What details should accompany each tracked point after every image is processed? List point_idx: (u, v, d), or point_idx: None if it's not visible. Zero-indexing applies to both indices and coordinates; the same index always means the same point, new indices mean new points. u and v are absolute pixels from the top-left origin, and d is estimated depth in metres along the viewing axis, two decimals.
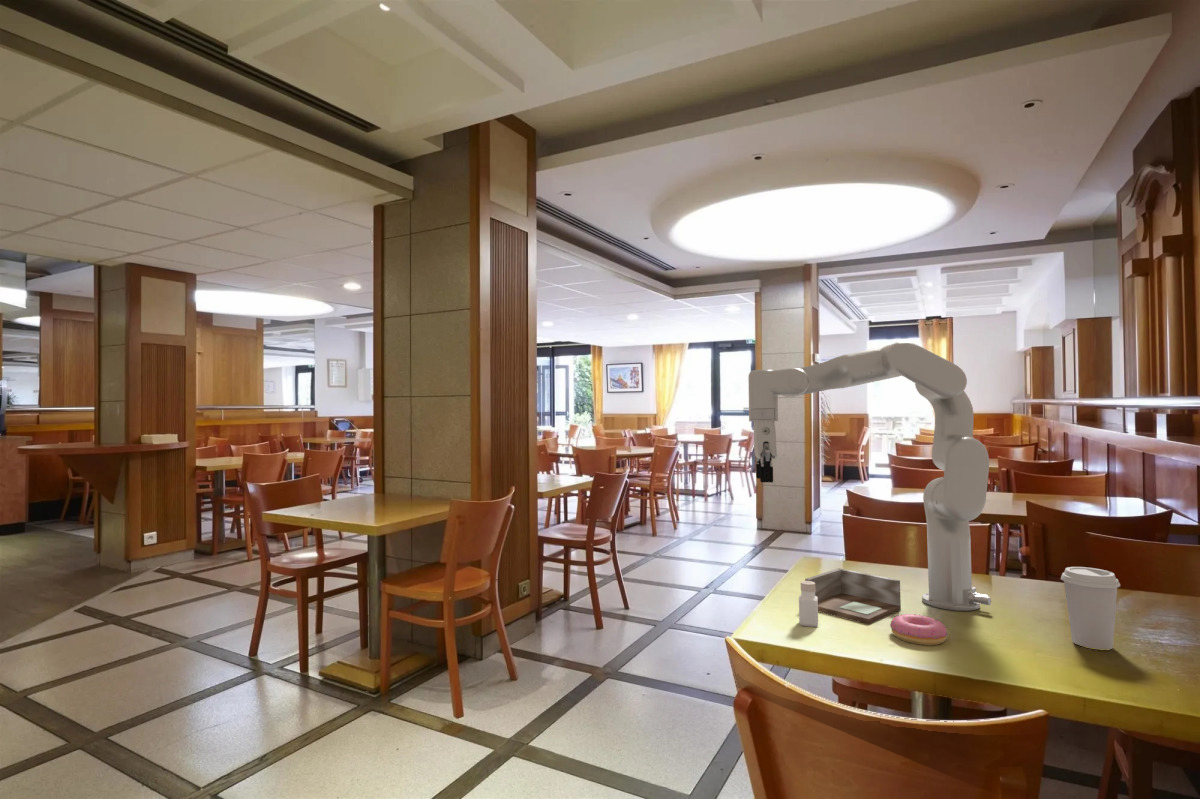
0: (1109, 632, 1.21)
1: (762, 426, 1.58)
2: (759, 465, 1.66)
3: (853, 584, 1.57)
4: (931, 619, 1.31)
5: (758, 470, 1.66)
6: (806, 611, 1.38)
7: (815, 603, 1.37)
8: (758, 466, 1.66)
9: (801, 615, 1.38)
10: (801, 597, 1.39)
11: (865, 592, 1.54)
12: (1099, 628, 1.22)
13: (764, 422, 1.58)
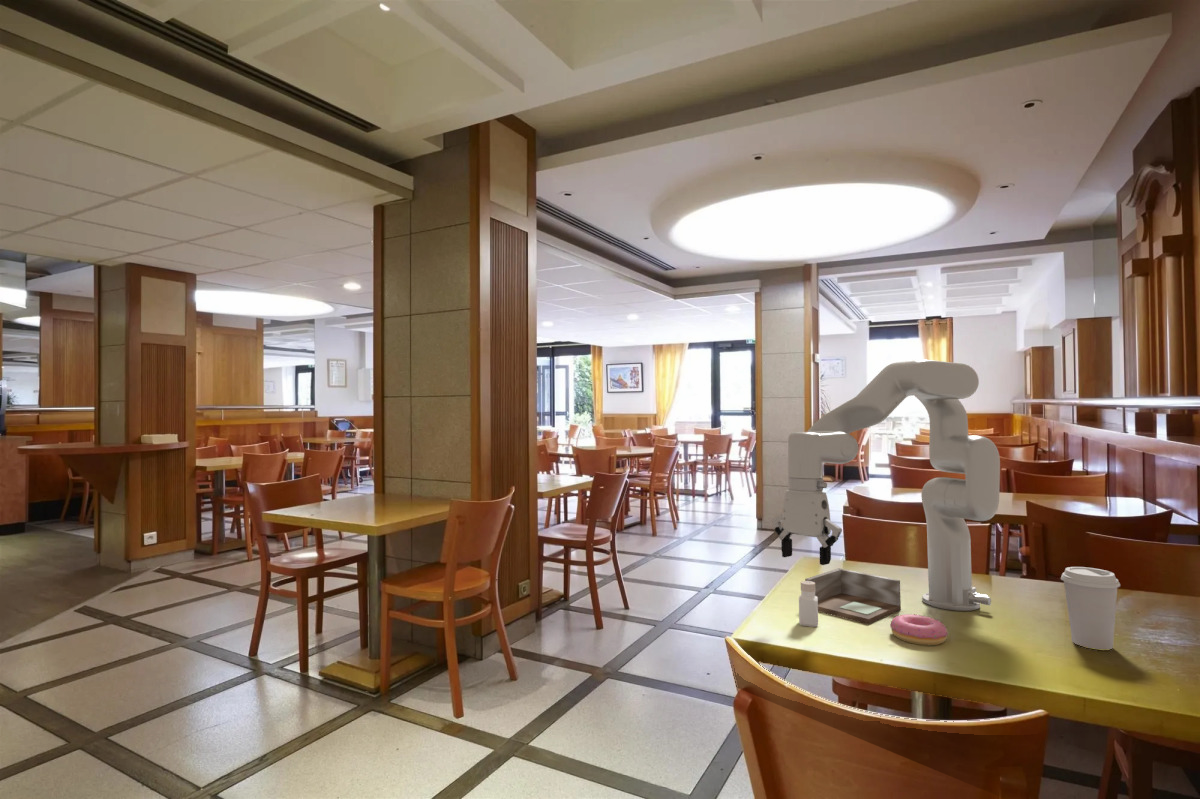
0: (1109, 632, 1.21)
1: (821, 499, 1.36)
2: (786, 541, 1.43)
3: (853, 584, 1.57)
4: (931, 619, 1.31)
5: (785, 547, 1.42)
6: (806, 611, 1.38)
7: (815, 603, 1.37)
8: (786, 543, 1.42)
9: (801, 615, 1.38)
10: (801, 597, 1.39)
11: (865, 592, 1.54)
12: (1099, 628, 1.22)
13: (822, 494, 1.37)
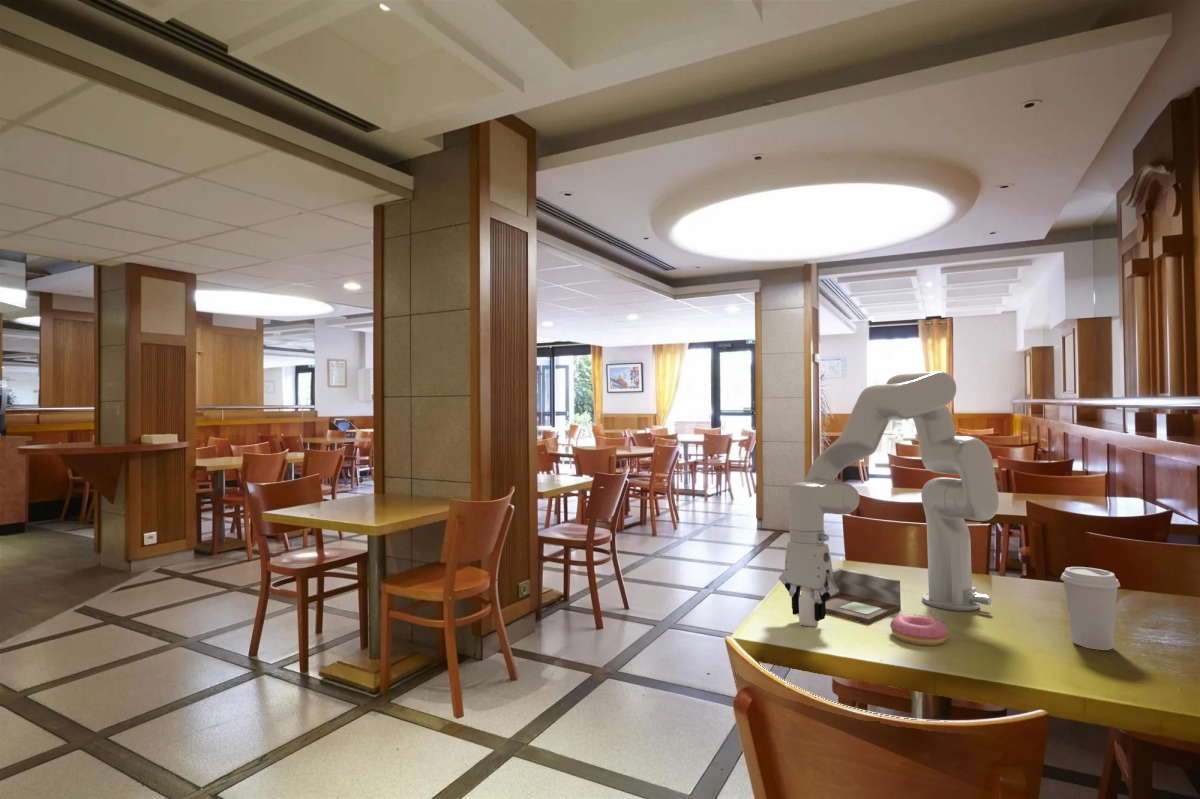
0: (1109, 632, 1.21)
1: (823, 552, 1.36)
2: (796, 599, 1.41)
3: (853, 584, 1.57)
4: (931, 619, 1.30)
5: (796, 605, 1.41)
6: (806, 611, 1.38)
7: None
8: (796, 600, 1.41)
9: (801, 615, 1.38)
10: (801, 597, 1.39)
11: (865, 592, 1.54)
12: (1099, 628, 1.22)
13: (823, 547, 1.36)
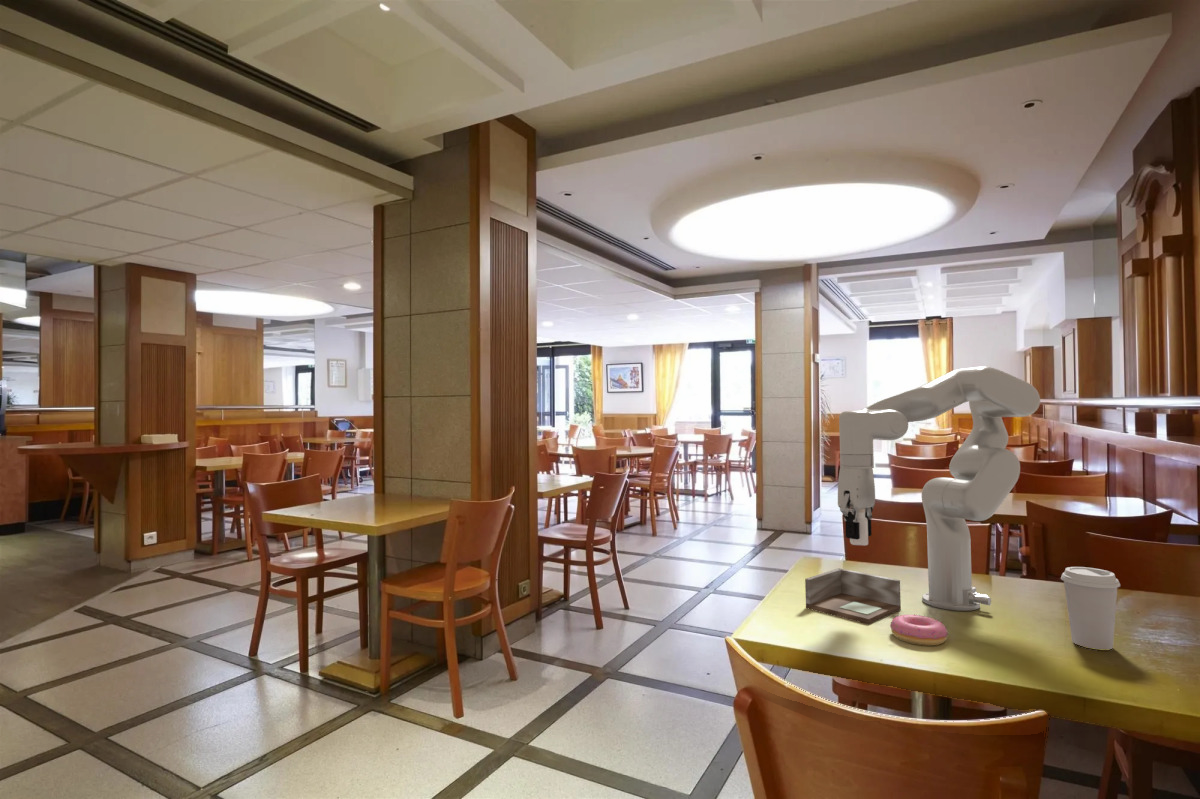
0: (1109, 632, 1.21)
1: None
2: None
3: (853, 584, 1.57)
4: (931, 619, 1.30)
5: None
6: None
7: None
8: None
9: (867, 535, 1.45)
10: (863, 519, 1.45)
11: (865, 592, 1.54)
12: (1099, 628, 1.22)
13: None
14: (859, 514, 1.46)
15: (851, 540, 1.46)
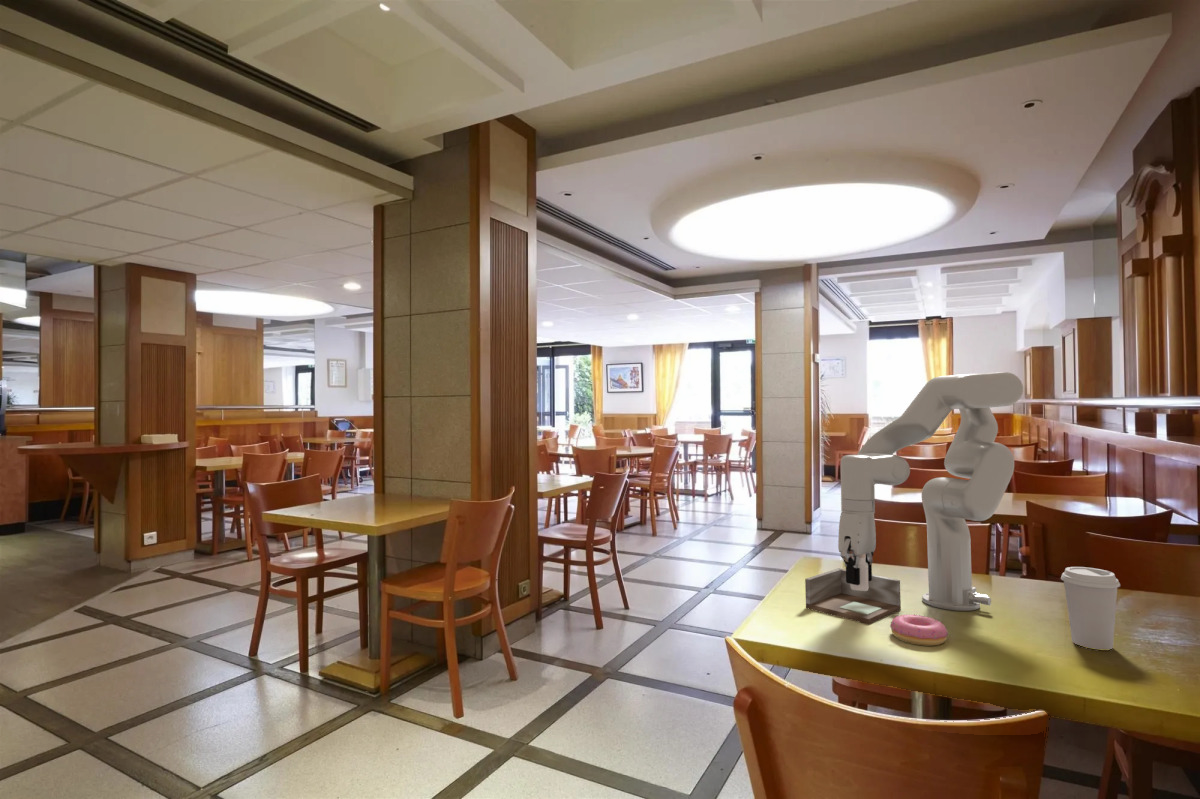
0: (1109, 632, 1.21)
1: None
2: None
3: None
4: (931, 619, 1.30)
5: None
6: None
7: None
8: None
9: None
10: (864, 564, 1.45)
11: (865, 592, 1.54)
12: (1099, 628, 1.22)
13: None
14: (859, 559, 1.45)
15: (851, 585, 1.45)
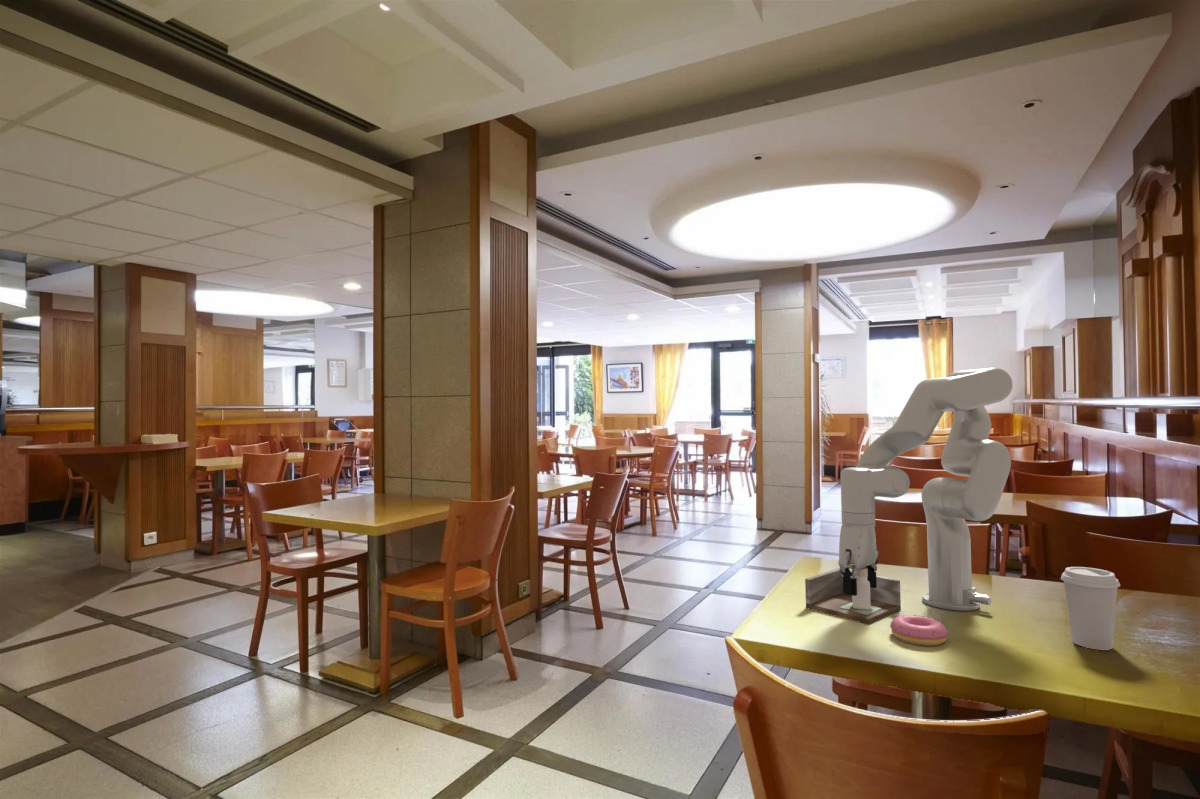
0: (1109, 632, 1.21)
1: None
2: None
3: None
4: (931, 620, 1.30)
5: None
6: None
7: None
8: None
9: None
10: (866, 583, 1.45)
11: None
12: (1099, 628, 1.22)
13: None
14: (861, 578, 1.45)
15: (853, 604, 1.45)
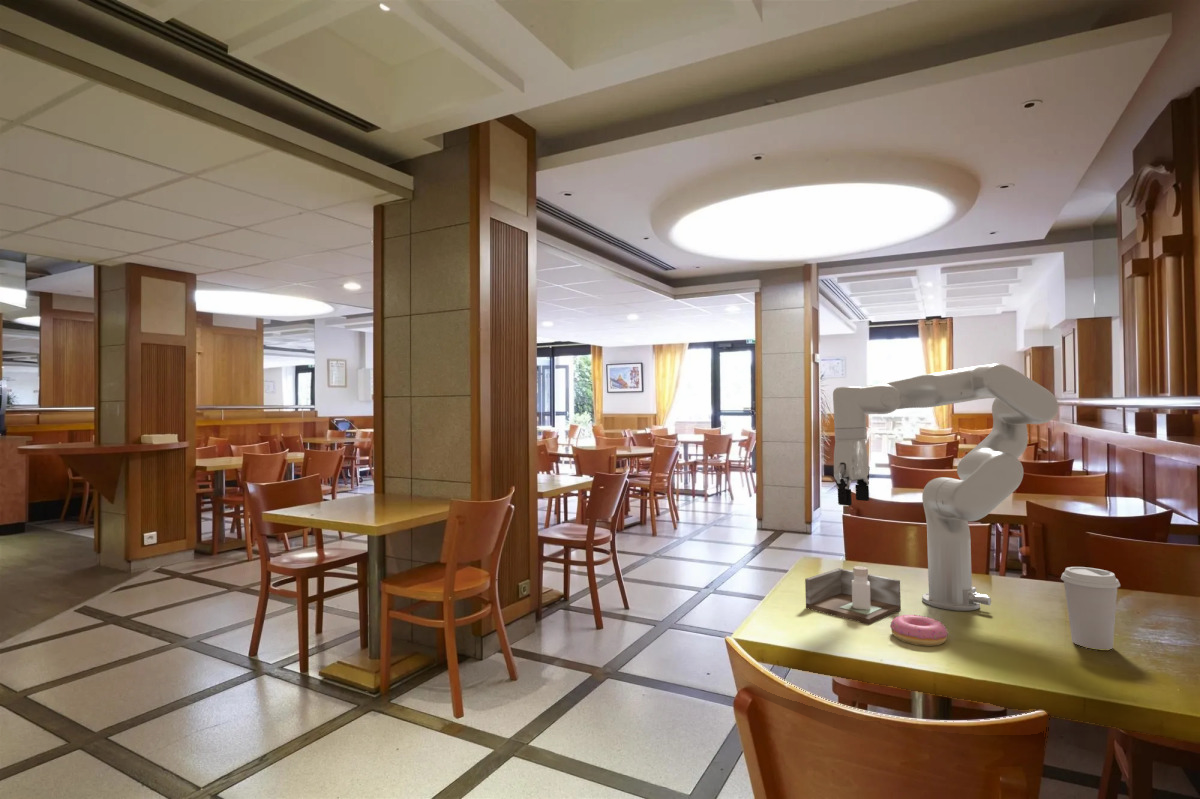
0: (1109, 632, 1.21)
1: None
2: None
3: None
4: (931, 620, 1.30)
5: None
6: None
7: None
8: None
9: None
10: (866, 583, 1.45)
11: None
12: (1099, 628, 1.21)
13: None
14: (861, 578, 1.45)
15: (853, 604, 1.45)
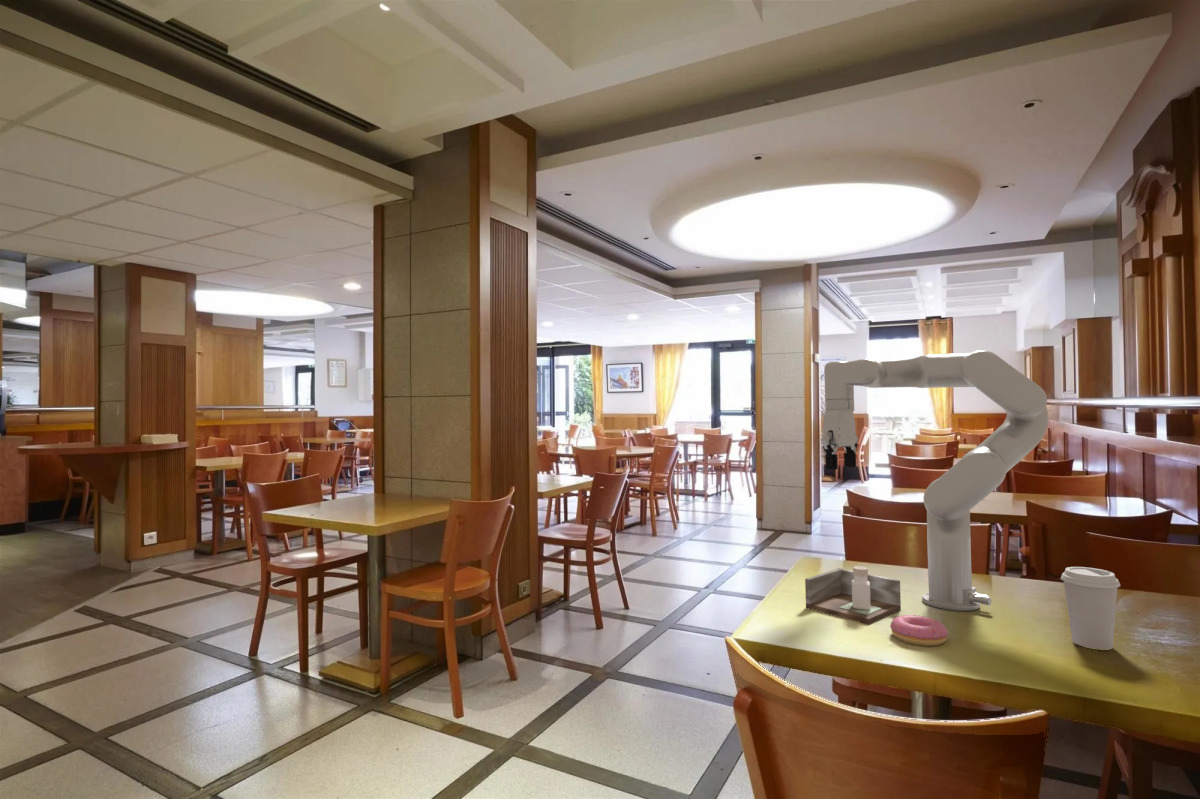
0: (1109, 632, 1.21)
1: None
2: None
3: None
4: (931, 620, 1.30)
5: None
6: None
7: None
8: None
9: None
10: (866, 583, 1.45)
11: None
12: (1099, 628, 1.21)
13: None
14: (861, 578, 1.45)
15: (853, 604, 1.45)
